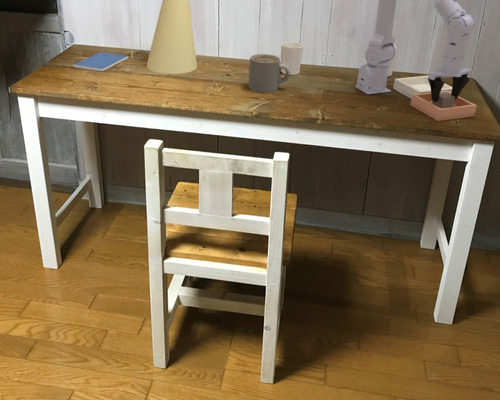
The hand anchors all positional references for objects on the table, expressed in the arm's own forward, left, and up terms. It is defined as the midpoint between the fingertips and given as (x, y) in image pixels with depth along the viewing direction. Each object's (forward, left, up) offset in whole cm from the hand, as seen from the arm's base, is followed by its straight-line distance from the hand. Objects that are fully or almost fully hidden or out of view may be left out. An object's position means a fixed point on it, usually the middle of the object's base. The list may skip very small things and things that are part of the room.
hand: (444, 99), depth 177 cm
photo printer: (0, +35, -4) cm, 35 cm away
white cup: (-30, +48, -4) cm, 57 cm away
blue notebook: (-93, +77, -4) cm, 121 cm away
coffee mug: (-45, +34, -4) cm, 57 cm away
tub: (+4, +15, -4) cm, 16 cm away
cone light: (-68, +68, -4) cm, 96 cm away
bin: (0, 0, -4) cm, 4 cm away
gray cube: (0, 0, -3) cm, 3 cm away
